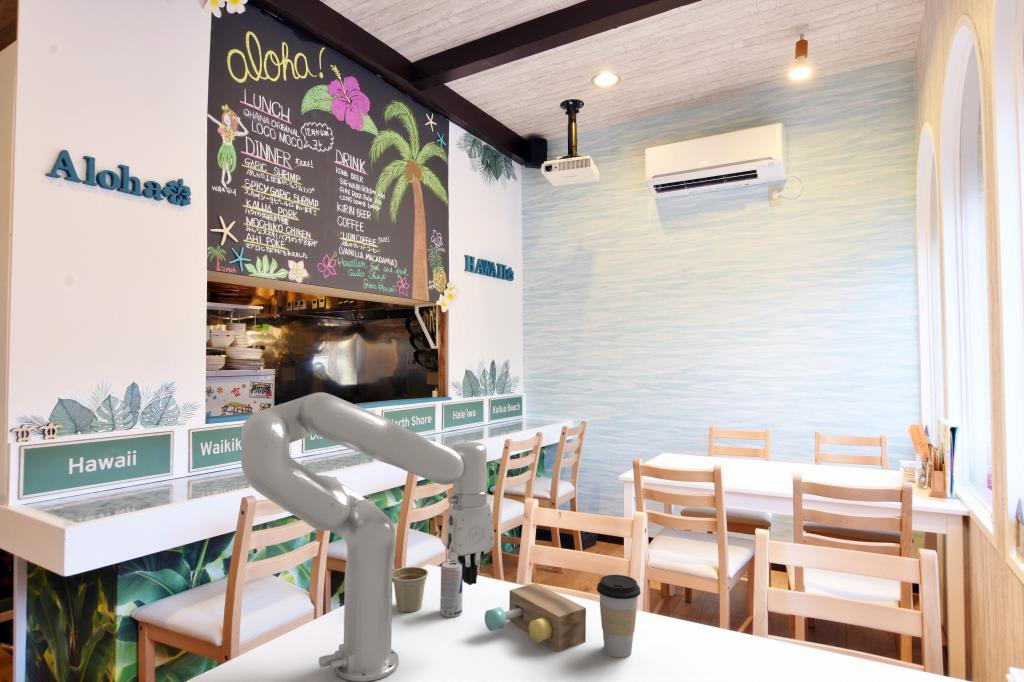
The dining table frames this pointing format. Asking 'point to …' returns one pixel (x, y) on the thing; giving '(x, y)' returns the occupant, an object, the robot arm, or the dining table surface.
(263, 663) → the dining table surface
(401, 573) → the flower pot
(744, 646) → the dining table surface
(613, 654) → the coffee cup
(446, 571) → the energy drink
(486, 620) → the knob
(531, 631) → the knob
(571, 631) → the block
